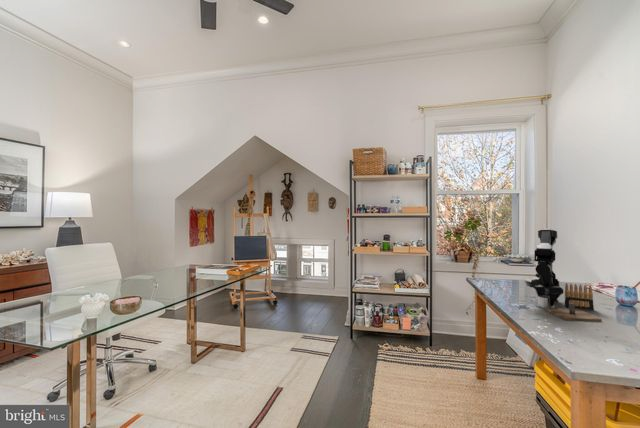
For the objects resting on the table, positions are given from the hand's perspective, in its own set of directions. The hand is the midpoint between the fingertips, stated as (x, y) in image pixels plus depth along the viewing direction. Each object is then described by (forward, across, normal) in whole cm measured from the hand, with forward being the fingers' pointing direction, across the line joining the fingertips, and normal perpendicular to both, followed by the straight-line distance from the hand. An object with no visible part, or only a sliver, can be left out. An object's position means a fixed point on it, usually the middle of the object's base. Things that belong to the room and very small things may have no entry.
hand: (545, 303), depth 147 cm
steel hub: (+2, 0, 0) cm, 2 cm away
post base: (+2, +13, +4) cm, 14 cm away
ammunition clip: (+2, +1, +14) cm, 14 cm away
